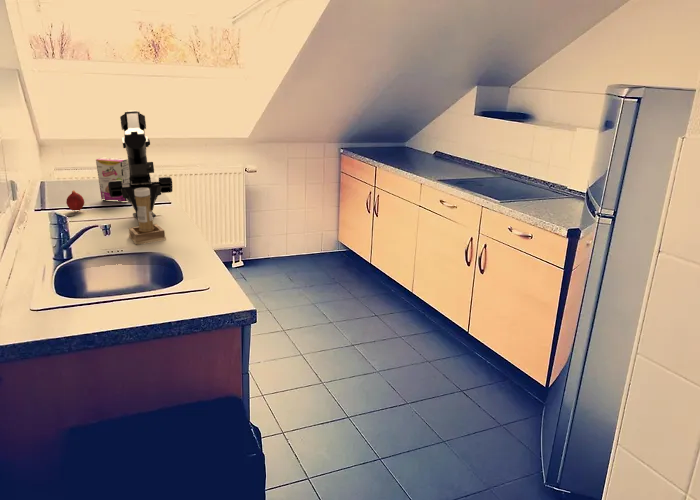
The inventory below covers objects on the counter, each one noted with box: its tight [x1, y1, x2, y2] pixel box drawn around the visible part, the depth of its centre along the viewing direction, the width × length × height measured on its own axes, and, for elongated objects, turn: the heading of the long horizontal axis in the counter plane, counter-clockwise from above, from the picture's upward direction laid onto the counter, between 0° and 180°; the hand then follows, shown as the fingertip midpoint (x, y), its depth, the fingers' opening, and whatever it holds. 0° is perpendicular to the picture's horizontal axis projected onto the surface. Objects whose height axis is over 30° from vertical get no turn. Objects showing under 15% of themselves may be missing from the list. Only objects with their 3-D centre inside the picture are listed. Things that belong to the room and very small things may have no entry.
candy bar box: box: [95, 156, 130, 201], centre depth 218 cm, size 11×5×16 cm, turn 77°
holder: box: [128, 223, 167, 246], centre depth 180 cm, size 9×9×3 cm
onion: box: [65, 190, 85, 211], centre depth 205 cm, size 6×6×8 cm
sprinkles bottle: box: [134, 188, 154, 232], centre depth 177 cm, size 5×5×14 cm
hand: (144, 210), depth 176 cm, fingers closed on sprinkles bottle, 4 cm apart
